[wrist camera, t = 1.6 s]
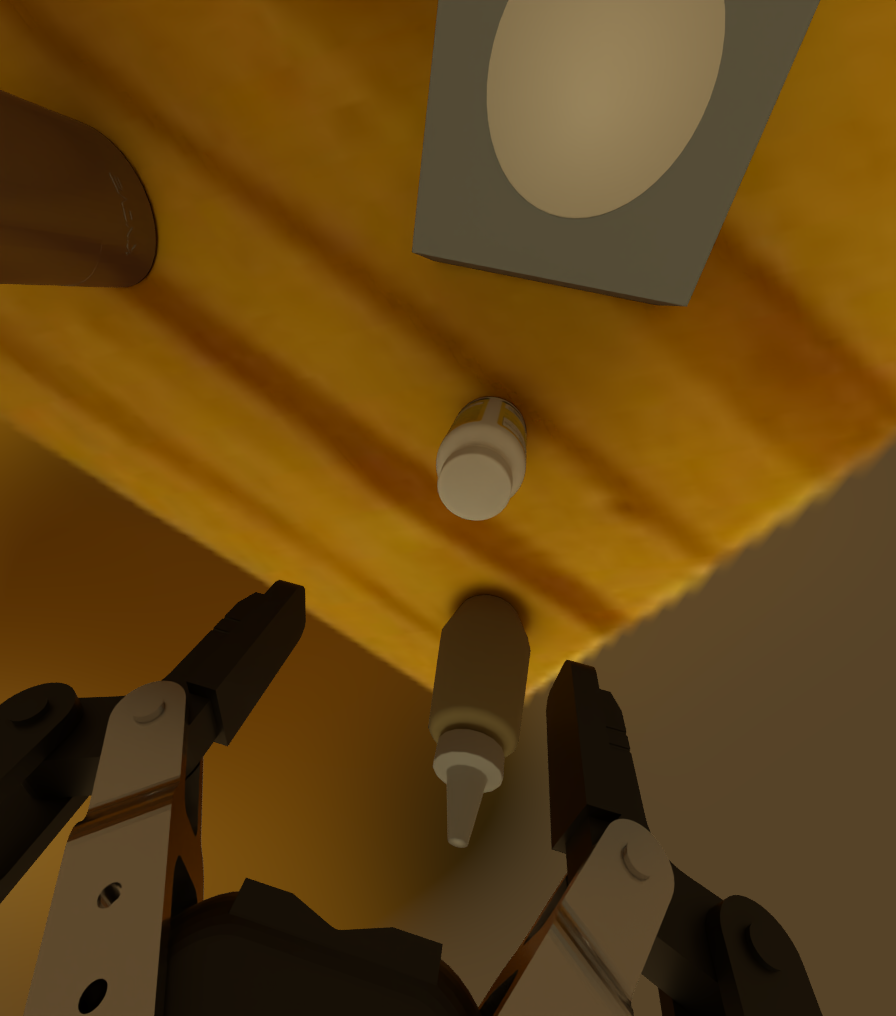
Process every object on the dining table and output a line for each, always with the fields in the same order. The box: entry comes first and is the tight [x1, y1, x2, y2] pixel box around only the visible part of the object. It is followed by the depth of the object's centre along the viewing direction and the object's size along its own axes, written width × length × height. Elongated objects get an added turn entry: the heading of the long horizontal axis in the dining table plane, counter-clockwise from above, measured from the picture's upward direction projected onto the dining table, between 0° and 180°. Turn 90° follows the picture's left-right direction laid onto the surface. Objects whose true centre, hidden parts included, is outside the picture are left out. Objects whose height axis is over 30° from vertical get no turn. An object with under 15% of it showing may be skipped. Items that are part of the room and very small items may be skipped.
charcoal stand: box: [412, 0, 820, 306], centre depth 18 cm, size 14×14×5 cm
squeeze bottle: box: [428, 595, 530, 848], centre depth 30 cm, size 8×8×18 cm
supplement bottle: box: [436, 397, 526, 520], centre depth 24 cm, size 5×5×10 cm
